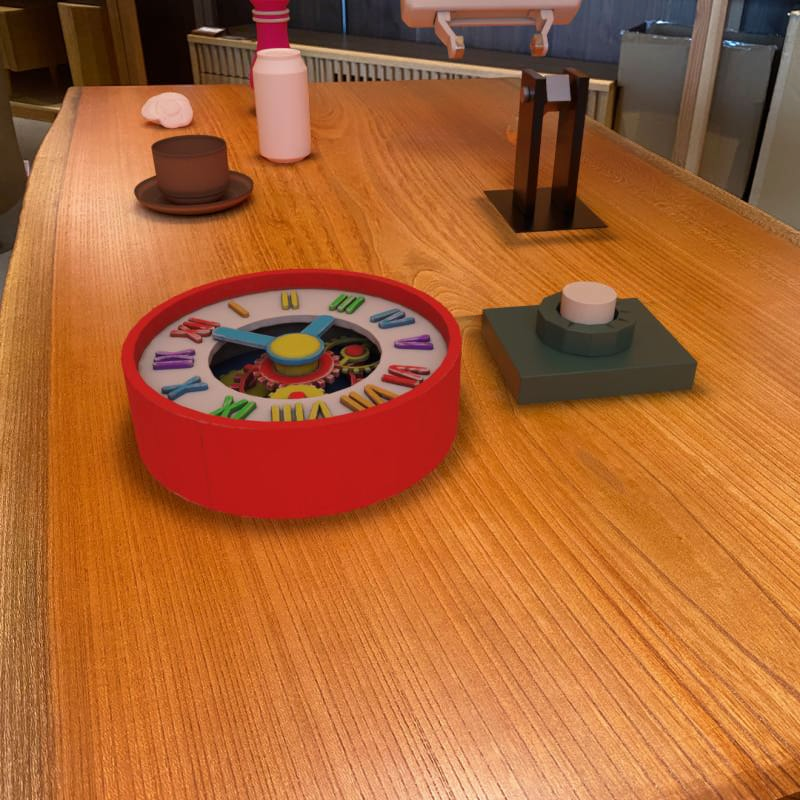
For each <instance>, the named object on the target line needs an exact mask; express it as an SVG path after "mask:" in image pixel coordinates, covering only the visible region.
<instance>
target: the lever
mask: <svg viewBox="0 0 800 800" xmlns="http://www.w3.org/2000/svg"><path fill="white" fill-rule="evenodd" d="M544 77H545V78H546V79H547V80H546V92H545V103H544V114H543V118H544V117H545V116H546V115H547V113H555V112H557V113H559V111H562V110H563V109H564V107H565V106H566V105H567V104H568V103H569V102H570V101H571V95H570V84H569V75H563V74H546V75H544ZM518 118H519V111H517V112H515V113H513V114H512V115H510V117H509V118H508V119H507V122H506V123H505V128H504V133H505V137H506V139H507V141H508V142H509V144H511V145H512V146H513V147H516V144H517V131H518Z"/></svg>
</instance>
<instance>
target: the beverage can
mask: <svg viewBox="0 0 800 800" xmlns="http://www.w3.org/2000/svg"><path fill="white" fill-rule="evenodd" d="M301 53H302V52H301V50H299V49H295V48H291V49H288V48H274V49H265V50H261V51H258V52H257V59H256V61H255V64H254V67H253V69H252V71H253V82H254V90H253V92H254V103H255V104H254V105H255V116H256V126H257V137H258V138H257V139H258V147H259V148H258V149H259V154H260V155H261V156H262V157H264V158H266V159H267V160H268V161H269V162H273V163H278V164H289V163H290V164H291V163H296V162H301V161H303V160H304V159H305V158H306V157H308V156H309V155H311V153H312V130H311V127H312V126H311V112H310V111H311V109H310V91H309V75H308V67H307V65H306V63H305V61H304V59H303V58H302V56H301V55H302V54H301Z"/></svg>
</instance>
